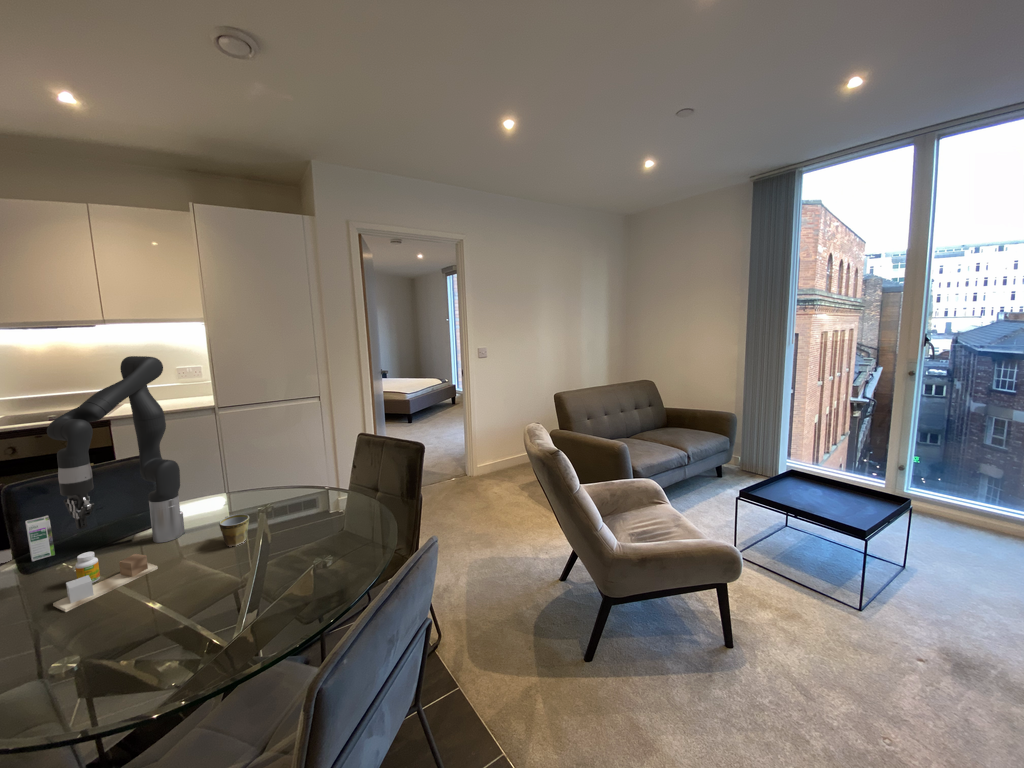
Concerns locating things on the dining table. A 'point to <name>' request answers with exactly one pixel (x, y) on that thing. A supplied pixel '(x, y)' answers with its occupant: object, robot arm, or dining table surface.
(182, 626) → the dining table surface
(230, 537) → the ceramic cup
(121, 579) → the birch strip
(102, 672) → the dining table surface
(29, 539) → the syrup box
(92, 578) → the supplement bottle
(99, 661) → the dining table surface
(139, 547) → the dining table surface
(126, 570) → the walnut block
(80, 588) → the grey block
